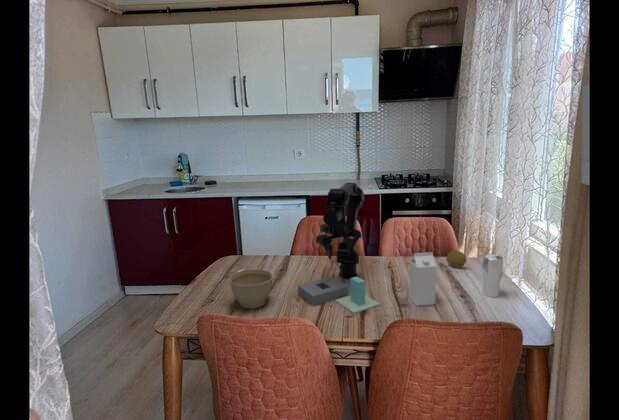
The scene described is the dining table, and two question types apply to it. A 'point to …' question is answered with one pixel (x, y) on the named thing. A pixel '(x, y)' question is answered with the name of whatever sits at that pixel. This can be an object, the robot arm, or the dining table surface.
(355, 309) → the mat
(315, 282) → the socket block
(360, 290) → the plug
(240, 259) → the dining table surface
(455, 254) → the olive green melon
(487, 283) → the silver can
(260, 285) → the planter bowl
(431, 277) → the milk carton
